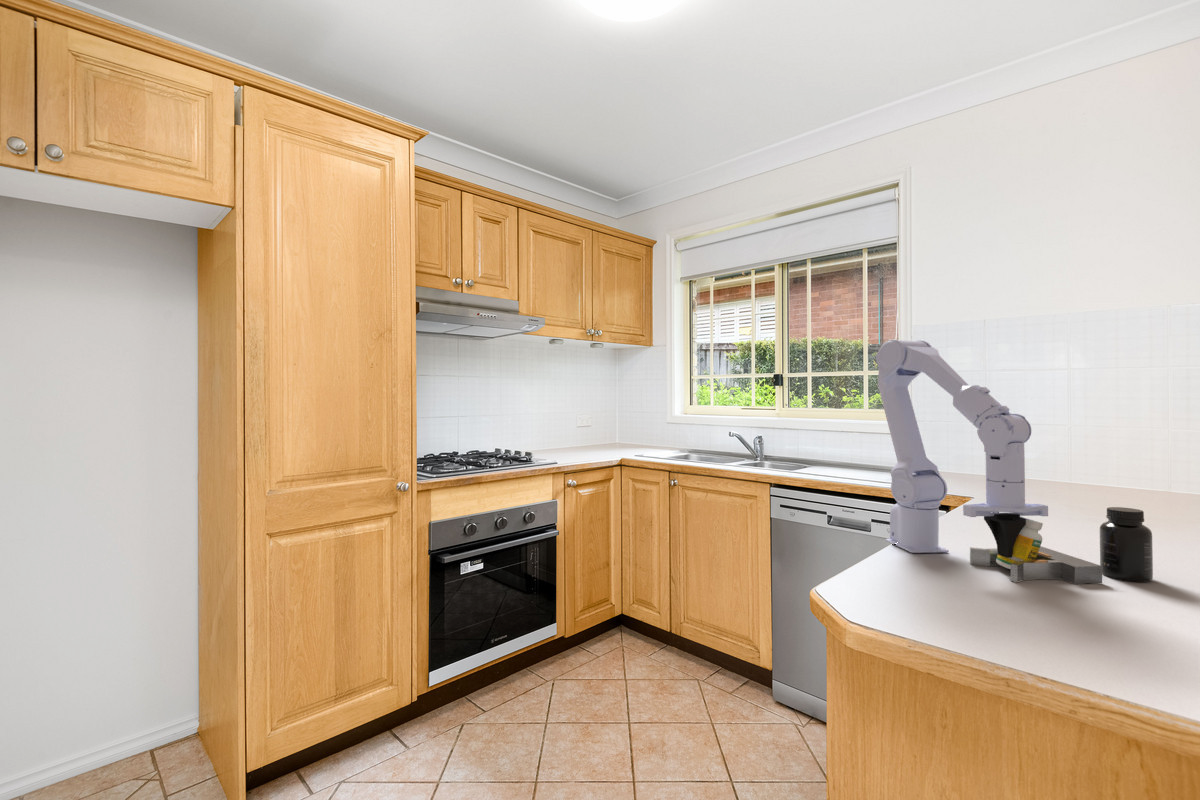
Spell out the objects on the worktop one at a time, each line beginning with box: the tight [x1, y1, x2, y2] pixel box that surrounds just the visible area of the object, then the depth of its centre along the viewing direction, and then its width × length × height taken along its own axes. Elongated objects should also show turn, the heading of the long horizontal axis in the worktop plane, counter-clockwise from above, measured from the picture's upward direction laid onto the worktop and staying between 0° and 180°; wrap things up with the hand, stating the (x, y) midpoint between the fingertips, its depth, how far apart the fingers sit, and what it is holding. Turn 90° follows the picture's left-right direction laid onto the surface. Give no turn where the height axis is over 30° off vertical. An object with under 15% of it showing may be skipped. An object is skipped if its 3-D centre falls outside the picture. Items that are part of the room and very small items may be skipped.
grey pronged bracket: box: [969, 546, 1103, 585], centre depth 102 cm, size 14×15×3 cm
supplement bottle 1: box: [996, 516, 1044, 570], centre depth 101 cm, size 5×5×10 cm
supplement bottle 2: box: [1099, 506, 1154, 583], centre depth 99 cm, size 7×7×12 cm
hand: (1006, 556), depth 101 cm, fingers closed, pressing on supplement bottle 1
